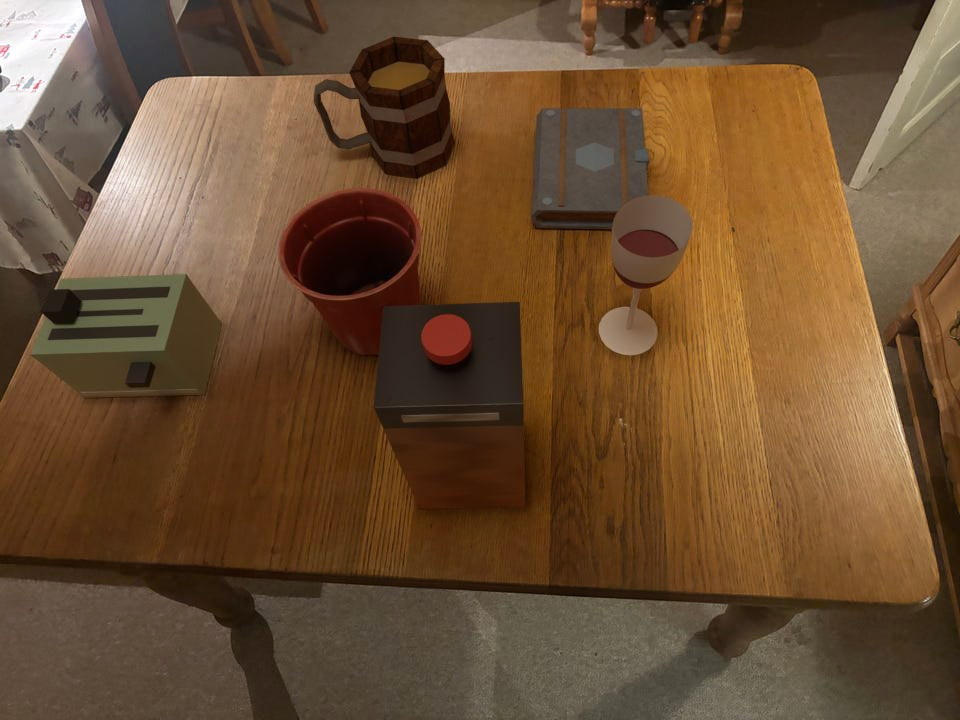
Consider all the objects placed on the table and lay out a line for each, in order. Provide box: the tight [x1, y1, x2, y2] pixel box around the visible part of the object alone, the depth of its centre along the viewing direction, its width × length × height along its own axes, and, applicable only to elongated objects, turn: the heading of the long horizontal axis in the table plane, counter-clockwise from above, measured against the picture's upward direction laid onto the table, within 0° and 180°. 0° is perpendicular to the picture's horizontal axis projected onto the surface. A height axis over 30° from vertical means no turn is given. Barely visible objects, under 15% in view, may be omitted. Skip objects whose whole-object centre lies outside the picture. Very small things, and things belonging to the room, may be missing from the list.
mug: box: [313, 36, 456, 180], centre depth 99 cm, size 20×14×15 cm
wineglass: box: [598, 194, 694, 356], centre depth 77 cm, size 8×9×20 cm
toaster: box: [29, 273, 223, 399], centre depth 82 cm, size 16×14×11 cm
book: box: [530, 107, 650, 230], centre depth 98 cm, size 21×16×5 cm
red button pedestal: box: [373, 301, 526, 510], centre depth 66 cm, size 12×10×26 cm
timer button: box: [421, 314, 472, 365], centre depth 53 cm, size 4×4×1 cm
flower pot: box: [277, 187, 423, 356], centre depth 82 cm, size 16×16×16 cm
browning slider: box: [40, 288, 82, 324], centre depth 77 cm, size 2×3×3 cm
